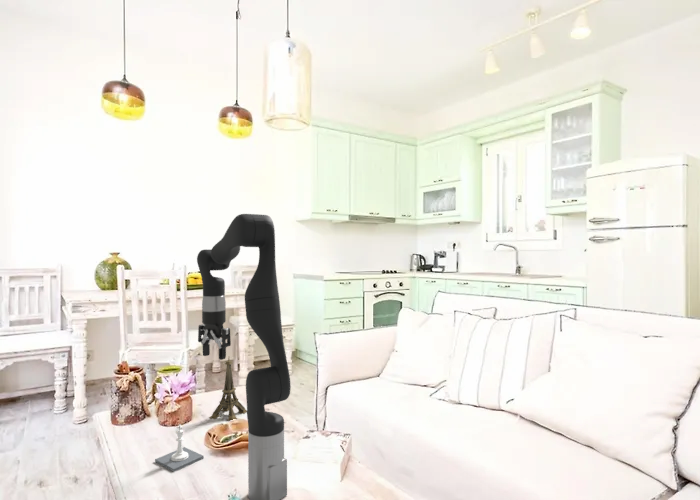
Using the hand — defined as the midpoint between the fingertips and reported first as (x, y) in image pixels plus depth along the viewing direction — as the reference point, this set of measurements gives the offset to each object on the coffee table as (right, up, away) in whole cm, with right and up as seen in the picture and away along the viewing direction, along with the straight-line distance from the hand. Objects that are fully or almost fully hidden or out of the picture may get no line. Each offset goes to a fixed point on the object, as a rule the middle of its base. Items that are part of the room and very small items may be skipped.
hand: (214, 357), depth 147 cm
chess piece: (-6, -28, -13) cm, 31 cm away
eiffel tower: (-2, -28, +23) cm, 37 cm away
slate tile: (-7, -28, -13) cm, 32 cm away
